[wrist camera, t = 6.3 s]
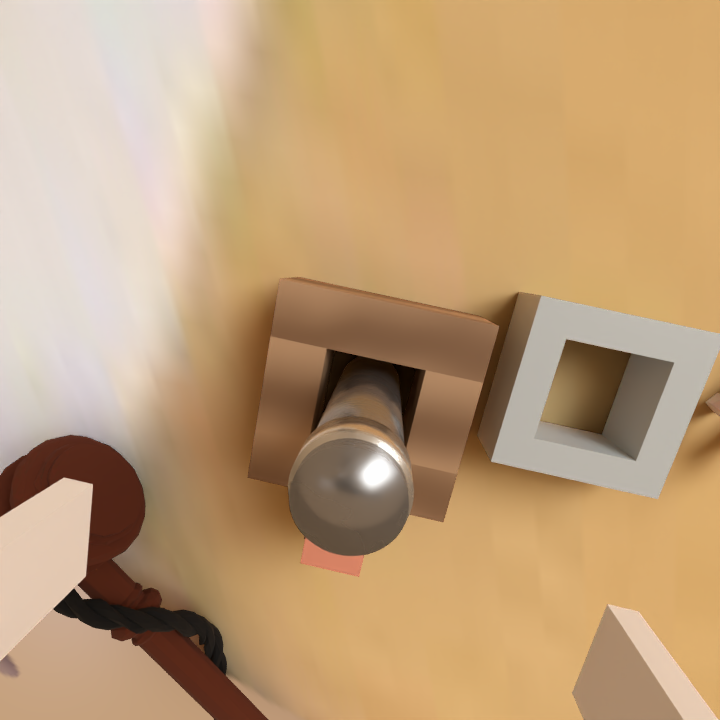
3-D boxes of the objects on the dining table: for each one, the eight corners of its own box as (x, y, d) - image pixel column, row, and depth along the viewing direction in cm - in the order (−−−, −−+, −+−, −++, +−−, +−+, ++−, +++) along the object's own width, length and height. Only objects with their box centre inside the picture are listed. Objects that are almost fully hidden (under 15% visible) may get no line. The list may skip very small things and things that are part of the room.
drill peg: (344, 345, 28) (294, 427, 13) (408, 359, 28) (429, 457, 13) (332, 405, 29) (273, 544, 14) (394, 419, 29) (398, 573, 14)
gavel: (344, 687, 37) (256, 729, 39) (75, 384, 30) (-21, 452, 31) (336, 844, 28) (219, 891, 29) (-67, 453, 20) (-194, 546, 22)
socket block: (299, 277, 27) (279, 278, 22) (479, 316, 27) (499, 326, 22) (262, 492, 31) (238, 534, 26) (421, 529, 30) (427, 578, 26)
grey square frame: (519, 291, 26) (541, 295, 22) (675, 325, 26) (725, 335, 22) (477, 435, 29) (490, 461, 25) (620, 467, 28) (657, 499, 24)
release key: (325, 466, 29) (311, 510, 23) (375, 477, 29) (371, 524, 23) (316, 510, 30) (300, 563, 24) (364, 521, 30) (358, 576, 24)
